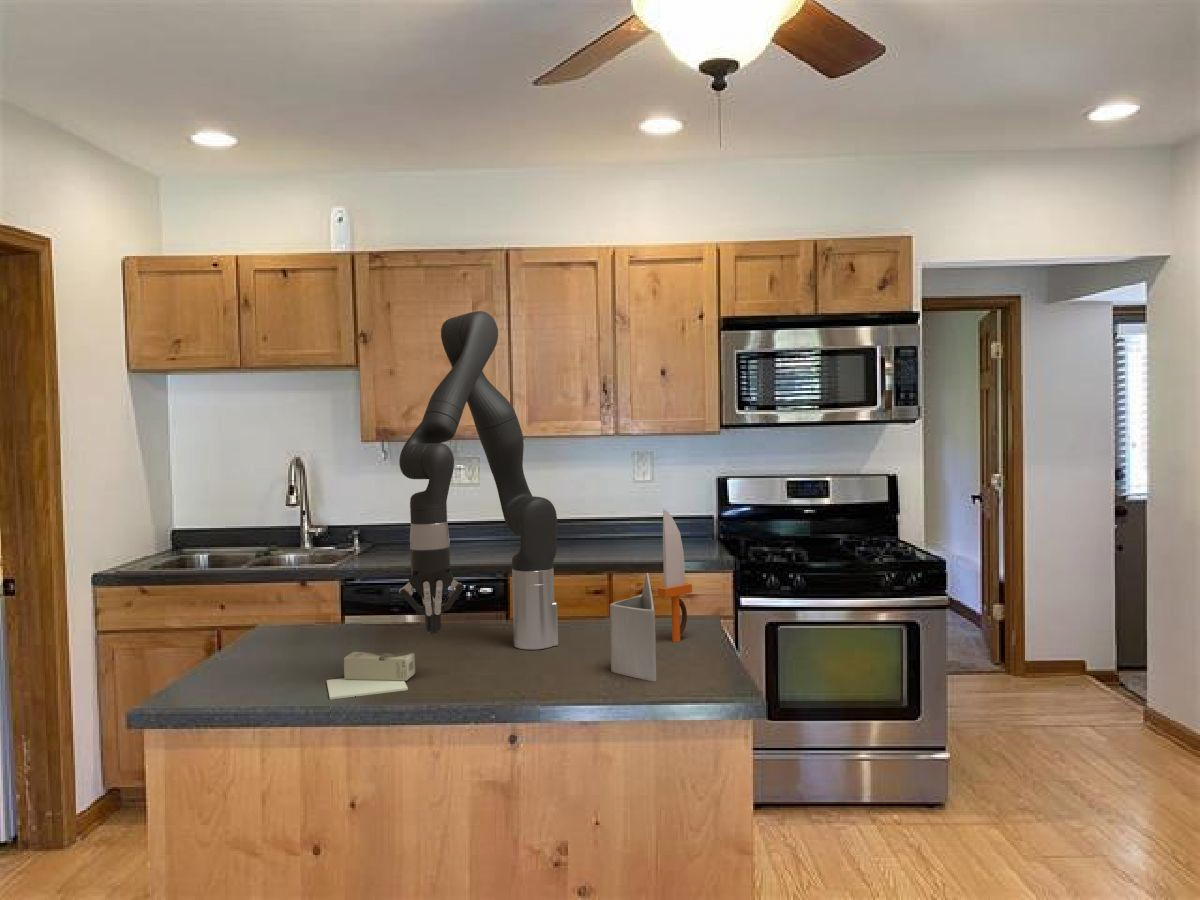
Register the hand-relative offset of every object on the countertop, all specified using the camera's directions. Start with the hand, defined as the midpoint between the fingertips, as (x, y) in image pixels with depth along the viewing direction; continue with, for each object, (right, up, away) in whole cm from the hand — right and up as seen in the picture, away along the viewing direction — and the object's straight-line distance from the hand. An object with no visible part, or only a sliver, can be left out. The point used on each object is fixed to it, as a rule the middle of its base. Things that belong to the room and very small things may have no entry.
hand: (433, 633), depth 175 cm
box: (-4, -6, -1) cm, 7 cm away
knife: (+50, -7, +25) cm, 56 cm away
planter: (+39, -8, +2) cm, 40 cm away
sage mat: (-12, -9, -4) cm, 16 cm away
